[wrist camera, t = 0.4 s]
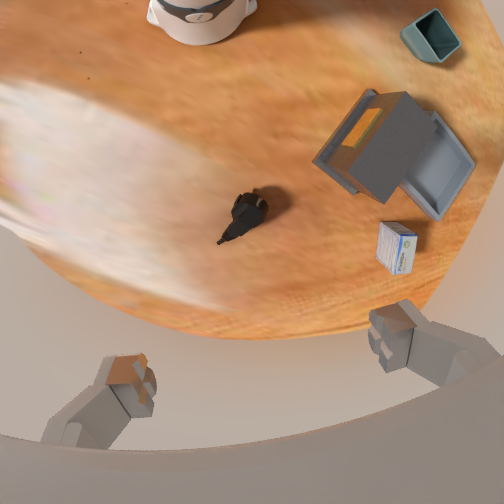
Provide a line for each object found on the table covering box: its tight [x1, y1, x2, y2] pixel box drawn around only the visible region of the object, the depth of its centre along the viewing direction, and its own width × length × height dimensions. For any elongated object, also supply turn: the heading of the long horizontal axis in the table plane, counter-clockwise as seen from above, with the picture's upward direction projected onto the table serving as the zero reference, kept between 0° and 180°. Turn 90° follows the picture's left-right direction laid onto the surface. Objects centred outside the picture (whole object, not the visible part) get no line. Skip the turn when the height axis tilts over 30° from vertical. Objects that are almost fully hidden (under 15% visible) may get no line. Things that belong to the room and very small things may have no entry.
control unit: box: [312, 88, 438, 204], centre depth 46 cm, size 10×18×14 cm, turn 144°
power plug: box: [217, 190, 268, 245], centre depth 55 cm, size 6×8×12 cm
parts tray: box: [398, 111, 476, 222], centre depth 53 cm, size 16×16×4 cm
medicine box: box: [376, 222, 418, 275], centre depth 57 cm, size 8×4×9 cm, turn 1°
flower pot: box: [400, 8, 461, 63], centre depth 41 cm, size 9×9×9 cm
